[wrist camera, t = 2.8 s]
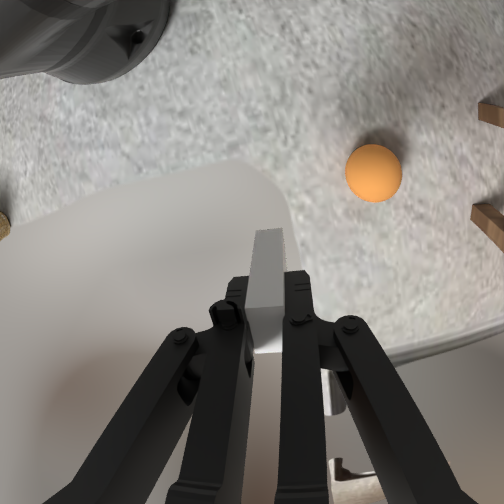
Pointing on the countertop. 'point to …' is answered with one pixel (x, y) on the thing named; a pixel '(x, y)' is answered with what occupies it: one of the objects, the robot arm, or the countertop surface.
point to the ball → (373, 173)
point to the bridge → (484, 215)
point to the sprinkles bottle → (4, 226)
